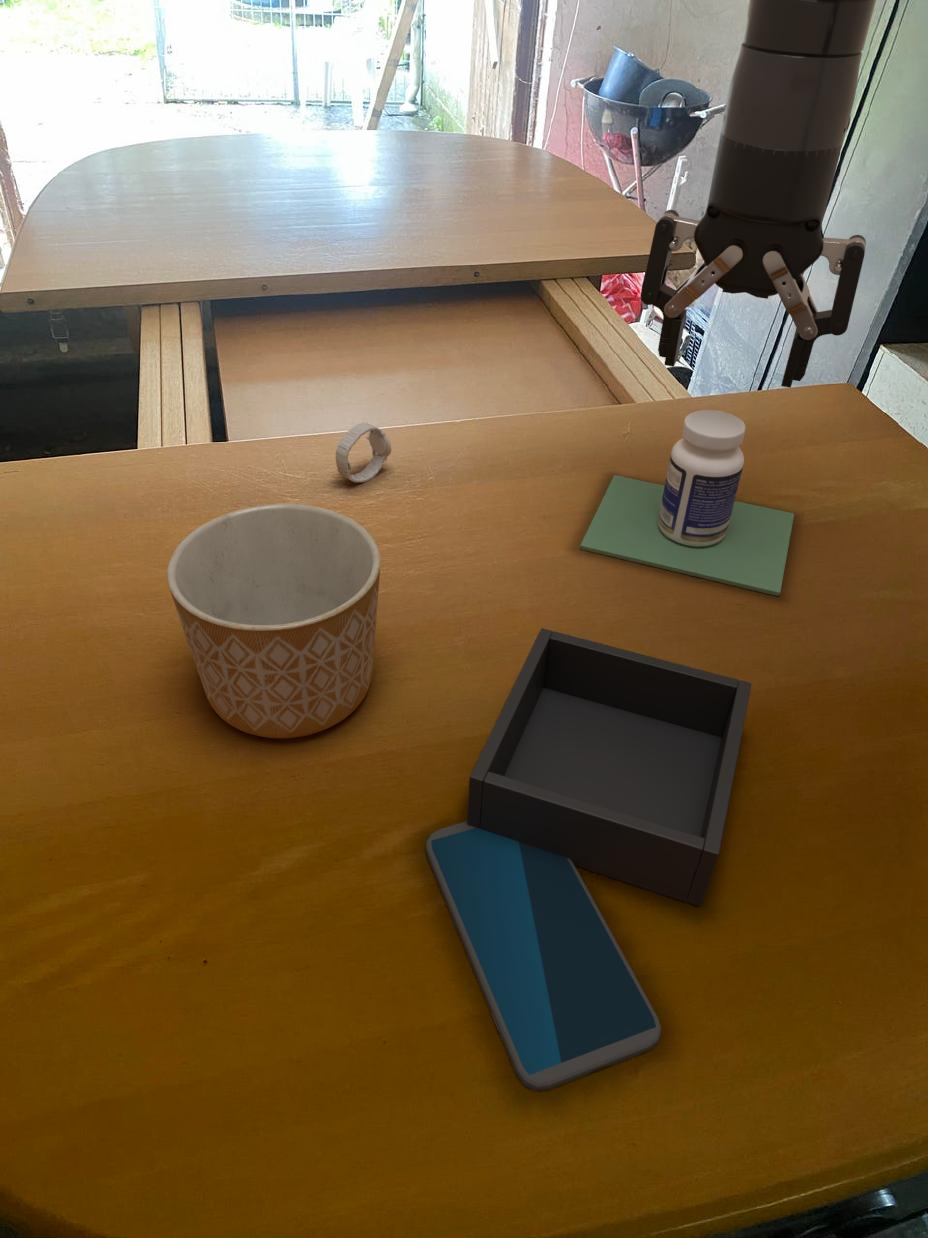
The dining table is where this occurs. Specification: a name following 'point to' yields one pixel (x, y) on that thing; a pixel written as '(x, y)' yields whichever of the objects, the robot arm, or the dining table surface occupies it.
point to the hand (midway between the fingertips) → (728, 372)
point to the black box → (614, 763)
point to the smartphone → (541, 957)
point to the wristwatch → (378, 445)
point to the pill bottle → (702, 478)
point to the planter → (279, 615)
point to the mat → (737, 559)
